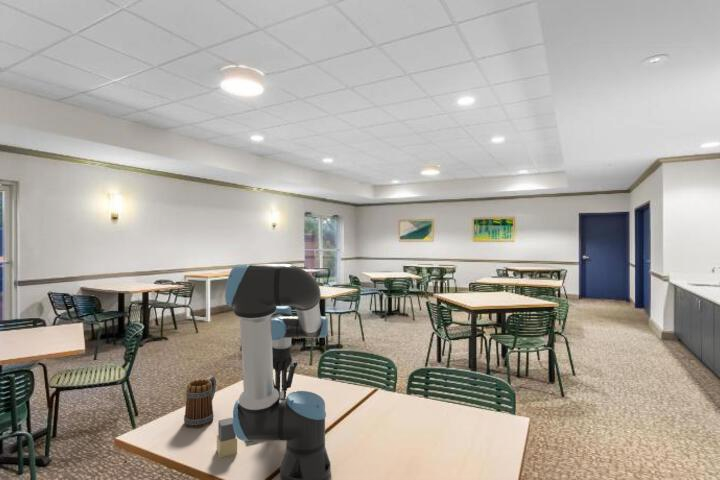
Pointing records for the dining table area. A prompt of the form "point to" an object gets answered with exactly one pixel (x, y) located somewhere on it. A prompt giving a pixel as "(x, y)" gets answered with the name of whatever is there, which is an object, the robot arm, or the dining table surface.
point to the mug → (199, 402)
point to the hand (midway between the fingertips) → (280, 406)
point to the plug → (226, 438)
